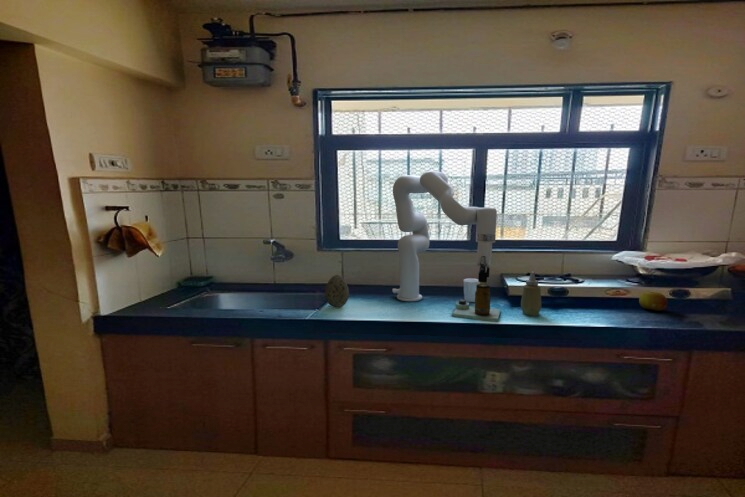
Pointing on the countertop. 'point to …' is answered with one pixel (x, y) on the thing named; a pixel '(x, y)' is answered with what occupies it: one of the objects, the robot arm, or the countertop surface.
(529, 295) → the squeeze bottle
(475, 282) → the white cup
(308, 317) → the countertop surface
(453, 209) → the robot arm
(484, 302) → the condiment
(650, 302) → the fruit
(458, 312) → the scale
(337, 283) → the decorative egg
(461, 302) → the tare button
